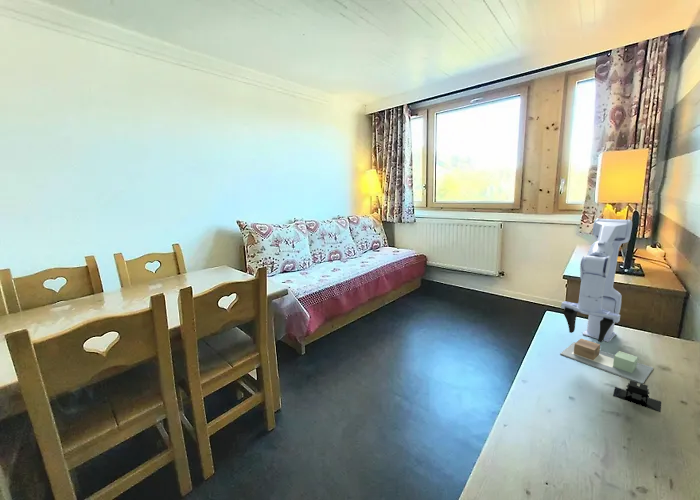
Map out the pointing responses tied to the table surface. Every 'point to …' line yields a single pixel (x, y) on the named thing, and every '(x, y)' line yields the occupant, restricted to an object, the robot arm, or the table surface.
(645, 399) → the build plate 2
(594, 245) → the robot arm
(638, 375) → the plate
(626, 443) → the table surface
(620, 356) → the green block
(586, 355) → the walnut block
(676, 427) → the table surface
